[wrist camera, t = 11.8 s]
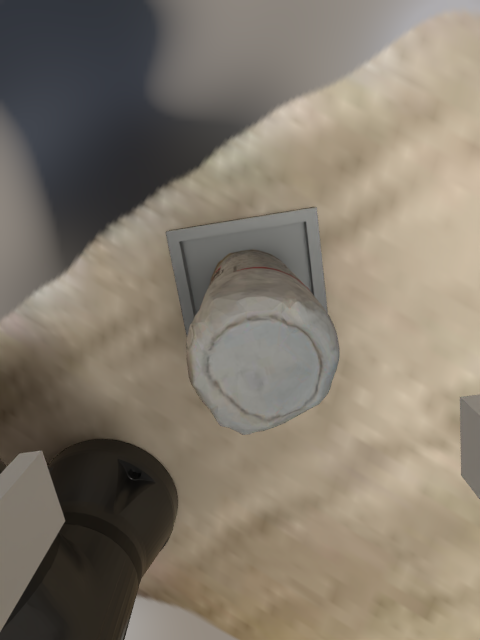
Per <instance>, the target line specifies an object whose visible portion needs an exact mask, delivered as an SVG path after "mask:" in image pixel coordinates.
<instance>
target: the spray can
mask: <svg viewBox="0 0 480 640" xmlns="http://www.w3.org/2000/svg"><path fill="white" fill-rule="evenodd" d="M186 348H187V365H188V373H189V378H190V381H191V384H192V386H193V387H194V389H195V391H196V393H197V394H198V396H199V397H200V399H201V400H202V402H203V403H204V404H205V405H206V406H207V407H208V408H209V409H210V411H211V412H212V414H213V415H214V417H215V419H216V420H217V422H218V423H219V424H220V426H223V427H228V428H231V429H233V430H235V431H237V432H239V433H240V434H242V435H245V434H251V433H254V432H258V431H264V430H267V429H270V428H273V427H276V426H278V425H281V424H283V423H285V422H287V421H289V420H291V419H292V418H294V417H296V416H298V415H300V414H301V413H303V412H305V411H307V410H309V409H311V408H312V407H314V406H316V405H318V404H319V403H320V402H321V401H322V400H323V399H324V398H325V396H326V395H327V394H328V392H329V390H330V387H331V383H332V380H333V377H334V374H335V372H336V369H337V365H338V361H339V343H338V337H337V333H336V330H335V327H334V324H333V322H332V321H331V319H330V317H329V315H328V314H327V312H326V310H325V309H324V308H323V306H322V305H321V304H320V303H319V302H318V300H317V299H316V298H315V297H314V295H313V294H312V293H311V291H310V290H309V289H308V288H307V287H306V286H305V285H304V284H303V283H302V282H301V280H300V279H299V278H298V277H297V276H296V275H295V274H294V273H293V272H292V271H291V270H290V269H289V268H287V266H286V265H285V264H284V263H282V261H281V260H279V258H278V259H277V258H276V257H275V256H273V255H271V254H269V253H266V252H262V251H259V250H254V249H251V250H245V251H239V252H234V253H229V254H228V255H226V256H225V257H224V258H223V259H222V260H221V261H220V262H218V264H217V266H216V268H215V270H214V273H213V275H212V277H211V281H210V284H209V287H208V289H207V291H206V294H205V296H204V299H203V301H202V304H201V307H200V309H199V311H198V313H197V314H196V315H195V317H194V319H193V321H192V323H191V324H190V327H189V330H188V336H187V344H186Z"/></svg>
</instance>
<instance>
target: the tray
mask: <svg viewBox="0 0 480 640" xmlns="http://www.w3.org/2000/svg"><path fill="white" fill-rule="evenodd" d="M166 236H167V241H168V246H169V251H170V256H171V261H172V266H173V271H174V276H175V280H176V285H177V290H178V295H179V300H180V305H181V310H182V315H183V320H184V325H185V330H186V335H187V336H188V330H189V327H190V324H191V323H192V321H193V319H194V317H195V315H196V314H197V313H198V311H199V309H200V307H201V304H202V301H203V299H204V296H205V294H206V291H207V289H208V287H209V284H210V281H211V277H212V275H213V273H214V270H215V268H216V266H217V264H218V262H220V261H221V260H222V259H223V258H224V257H225V256H226V255H228V254H229V253H234V252H239V251H245V250H251V249H254V250H259V251H262V252H266V253H269V254H271V255H273V256H275V257H276V258H277V259H278V258H279V260H281V261H282V263H284V264H285V265H286V266H287V268H289V269H290V270H291V271H292V272H293V273H294V274H295V275H296V276H297V277H298V278H299V279H300V280H301V282H302V283H303V284H304V285H305V286H306V287H307V288H308V289H309V290H310V291H311V293H312V294H313V295H314V297H315V298H316V299H317V300H318V302H319V303H320V304H321V305H322V306H323V308H324V309H325V310H326V312H327V302H326V293H325V283H324V273H323V264H322V254H321V244H320V235H319V225H318V215H317V207H311V208H305V209H299V210H293V211H286V212H280V213H274V214H268V215H262V216H256V217H249V218H243V219H237V220H231V221H225V222H219V223H212V224H206V225H200V226H194V227H188V228H181V229H175V230H170V231H167V232H166ZM327 314H328V312H327Z"/></svg>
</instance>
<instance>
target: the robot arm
mask: <svg viewBox="0 0 480 640" xmlns="http://www.w3.org/2000/svg"><path fill="white" fill-rule="evenodd" d="M460 432H461V476H462V477H463V478H464V480H465V481H466V482H467V483H468V485H469V486H470V487H471V489H472V490H473V491H474V493H475V494H476V495H477V496H478V498H479V499H480V395H472V396H465V397H460ZM177 508H178V499H177V493H176V489H175V486H174V483H173V481H172V479H171V477H170V475H169V474H168V472H167V471H166V470H165V468H164V467H163V466H162V465H161V464H160V463H159V462H158V461H157V460H156V459H155V458H154V457H152V456H151V455H150V454H148V453H147V452H145V451H143V450H141V449H140V448H137V447H135V446H133V445H130V444H127V443H124V442H120V441H114V440H90V441H85V442H81V443H78V444H75V445H73V446H71V447H69V448H67V449H65V450H64V451H62V452H61V453H60V454H59V455H57V456H56V457H55V458H54V459H53V461H52V462H51V463H50V464H49V466H48V467H47V464H46V461H45V458H44V455H43V452H42V451H34V452H26V453H19V454H18V455H17V457H16V458H15V459H14V460H13V461H12V462H11V463H10V464H9V465H8V466H6V465H5V464H4V462H3V461H2V460H1V459H0V640H124V639H125V635H126V631H127V628H128V624H129V620H130V616H131V613H132V609H133V605H134V602H135V598H136V595H137V591H138V588H139V584H140V581H141V578H142V577H143V575H144V574H145V572H146V571H147V569H148V568H149V567H150V565H151V564H152V562H153V561H154V559H155V558H156V556H157V555H158V553H159V552H160V551H161V550H162V549H163V547H164V546H165V545H166V543H167V541H168V540H169V537H170V535H171V533H172V530H173V526H174V522H175V518H176V514H177Z"/></svg>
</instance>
